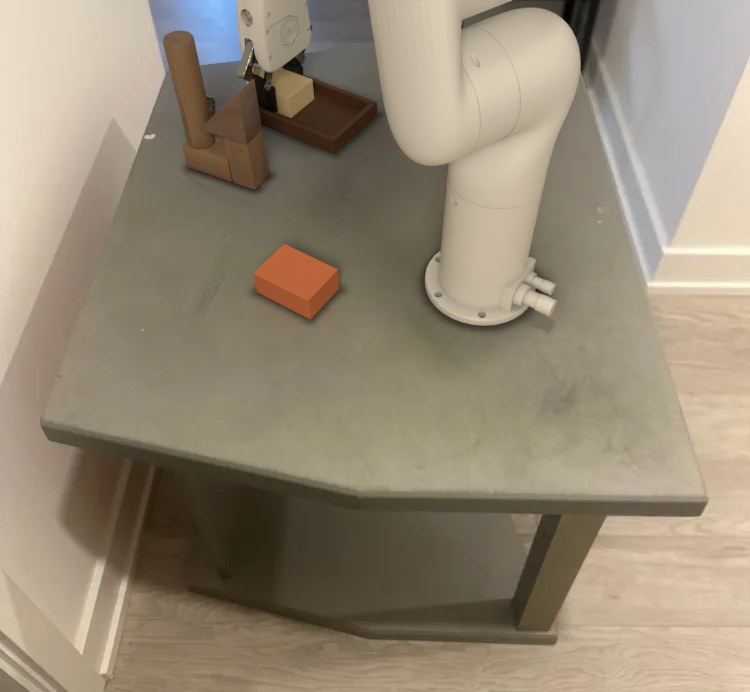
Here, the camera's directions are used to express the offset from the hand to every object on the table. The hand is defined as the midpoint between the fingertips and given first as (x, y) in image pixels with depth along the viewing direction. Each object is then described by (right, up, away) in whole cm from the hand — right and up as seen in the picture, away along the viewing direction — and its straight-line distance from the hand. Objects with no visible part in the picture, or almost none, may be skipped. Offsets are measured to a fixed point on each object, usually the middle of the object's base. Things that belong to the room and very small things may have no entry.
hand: (281, 97), depth 106 cm
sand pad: (0, 0, 0) cm, 0 cm away
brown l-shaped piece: (-6, -13, -8) cm, 16 cm away
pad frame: (+3, -2, 0) cm, 4 cm away
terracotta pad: (+5, -29, -22) cm, 37 cm away
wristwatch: (-11, -5, -2) cm, 12 cm away
